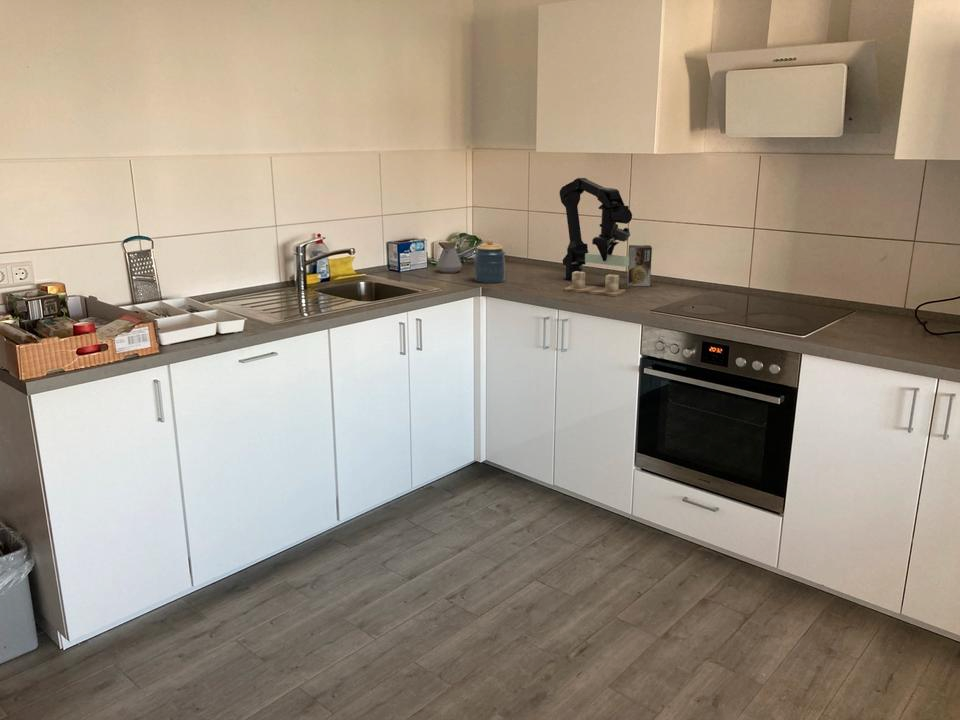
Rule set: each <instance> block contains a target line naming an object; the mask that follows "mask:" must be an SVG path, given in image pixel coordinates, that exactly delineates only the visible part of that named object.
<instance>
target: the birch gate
mask: <svg viewBox="0 0 960 720" xmlns="http://www.w3.org/2000/svg"><path fill="white" fill-rule="evenodd" d="M604 280H605V284H604V286H596V285H587V284H586V271H583V272H580V271H575V272H573V273H572V280H571V285H569V286H566V287H564V288H563V290H565V291H564V292H568V291H574V292H573V293H577V292H582V293H581V294H586V293H591V294H590V295H596V294H599V295H598V296H605V295H607V296H606V297H614V296H617V297H618V296H621V295H622V294H624V293H627V289H623V288H619V284H620V283H619V281H620V275H619V274H607V275H605V279H604Z"/></svg>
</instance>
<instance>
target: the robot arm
mask: <svg viewBox="0 0 960 720" xmlns="http://www.w3.org/2000/svg"><path fill="white" fill-rule="evenodd" d="M584 192H586V193H588V194H590V195H593V196H595V197H596V199H597V201H598V202H600V206H598V210H601V223H600V224H599V228H600V234H598V236H594V237H593V238H592V242H591V243H592V245H594V246H596V247H597V250H598V252H599V254H601V257H602V259H603V261H606V259H607V254H608V255H613V252H614V250H615V247H616V246H617V245H618V244H620V242H628V239H629V237H630V236H631V232H630V228H628V227H624V228H619V224H626V225H627V224H629V223H631V221H632V219H633V214H632V211H631V210H630V209H629V208H630V207H629V205H625V202H624V201H623V198H622V196H621V194H620V190H619V189H618V188H612V187H604V186H602V185H600V184H597V183H595V181H594V182H593V181H591V180H589V179H588V178H586V177H577V178H576V179H574V180H573V181H571V182H569V183H566V184H565V185H564V186H562V187H561V188H560V190H559V198H560V202H561V204H562V205H563V207H564V208H565V213H566V221H567V228H568V236H569V244H568V246H567V248H566V252H567V254H566V255H565V256H564V257H563V259H562V265H563V266H565V277H563V280H569V281H572V273H573V272H575V271H580V272H584V268H583V266H585V265H586V263H587V262H585V254H586V253H590V252H589V250H588V243H584V241H583V240H582V231H581V225H580V224H581V223H580V218H579V217H580V215H579V208H578V207H579V203H580V201H581V195H582V194H584Z"/></svg>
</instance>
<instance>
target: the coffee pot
mask: <svg viewBox="0 0 960 720" xmlns="http://www.w3.org/2000/svg"><path fill="white" fill-rule="evenodd" d="M437 245H439V247H440V248H442V250H441V252H440V253H441V254H440V256H439V258H438V260H437V263H436V268H437V270H438V271H439V272H440V273H443V274H454V273H455V274H456V273H458V272H459V271H460V270H461V269H462V266H463V264H462V262H461V260H460V257H459V255H458V253H457V250H456V245H457V242H438V243H437Z"/></svg>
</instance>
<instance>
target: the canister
mask: <svg viewBox="0 0 960 720" xmlns="http://www.w3.org/2000/svg"><path fill="white" fill-rule="evenodd" d="M503 249H504V246H502V245H501V244H500V243H496V242H495V243H494V240H493V239H492V238H488V239H486V242H485V243H480V244H479V245H477V246H476V251H475V252H474V255H475V259H474V281H475V282H478V283H483V284H497V283H502V282H505V278H506V274H505V272H506V268H505V267H506V259H505V255H506V252H505V251H504V250H503Z"/></svg>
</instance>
